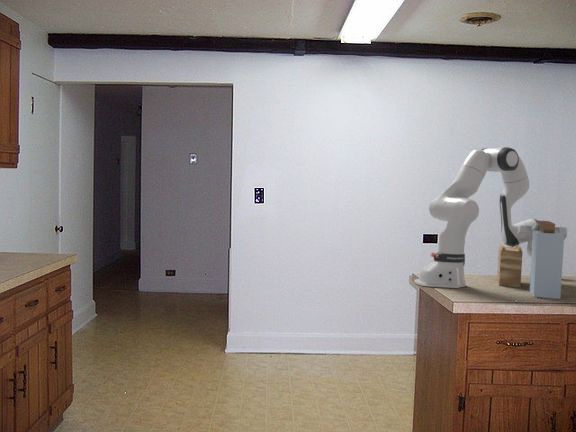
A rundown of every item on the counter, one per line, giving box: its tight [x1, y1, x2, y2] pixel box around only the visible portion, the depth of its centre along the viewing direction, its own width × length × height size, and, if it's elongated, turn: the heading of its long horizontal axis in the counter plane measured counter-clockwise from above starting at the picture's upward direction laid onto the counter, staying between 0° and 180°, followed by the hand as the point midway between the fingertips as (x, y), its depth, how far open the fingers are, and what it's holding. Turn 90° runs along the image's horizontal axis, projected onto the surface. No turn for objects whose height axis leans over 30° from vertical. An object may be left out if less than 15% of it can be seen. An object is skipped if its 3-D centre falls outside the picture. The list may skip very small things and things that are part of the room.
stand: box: [528, 231, 565, 300], centre depth 250 cm, size 16×10×26 cm, turn 164°
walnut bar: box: [537, 220, 556, 234], centre depth 256 cm, size 20×4×4 cm, turn 164°
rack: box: [496, 243, 524, 288], centre depth 276 cm, size 16×9×18 cm, turn 164°
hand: (544, 224), depth 262 cm, fingers closed on walnut bar, 4 cm apart
